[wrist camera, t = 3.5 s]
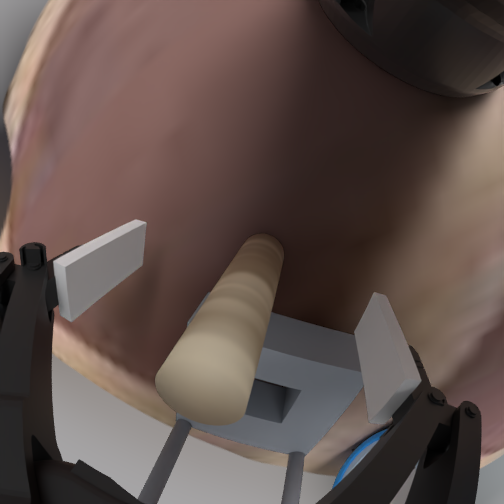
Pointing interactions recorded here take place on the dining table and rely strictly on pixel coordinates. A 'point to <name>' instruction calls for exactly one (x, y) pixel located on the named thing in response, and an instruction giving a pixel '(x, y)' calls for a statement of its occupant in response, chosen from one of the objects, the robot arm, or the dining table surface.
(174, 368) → the peg
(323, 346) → the socket station
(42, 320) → the robot arm
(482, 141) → the dining table surface
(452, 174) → the dining table surface
